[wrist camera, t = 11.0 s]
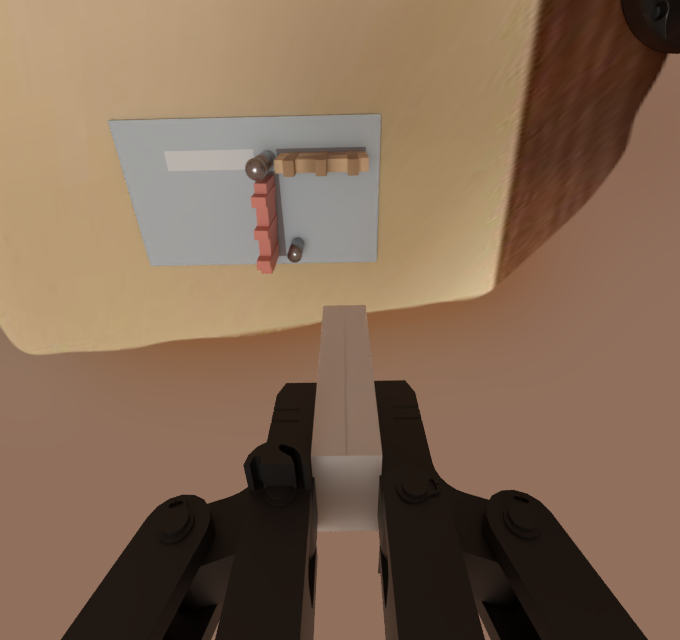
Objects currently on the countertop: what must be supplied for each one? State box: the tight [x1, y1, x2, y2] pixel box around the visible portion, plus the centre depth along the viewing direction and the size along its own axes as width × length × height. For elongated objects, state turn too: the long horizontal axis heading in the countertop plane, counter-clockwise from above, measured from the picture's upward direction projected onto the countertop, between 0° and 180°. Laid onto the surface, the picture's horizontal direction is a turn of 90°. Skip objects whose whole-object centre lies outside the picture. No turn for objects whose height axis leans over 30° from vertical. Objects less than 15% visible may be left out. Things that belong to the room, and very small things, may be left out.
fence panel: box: [251, 174, 279, 274], centre depth 41 cm, size 10×1×6 cm, turn 178°
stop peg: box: [287, 237, 305, 263], centre depth 44 cm, size 2×2×4 cm
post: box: [245, 150, 276, 181], centre depth 37 cm, size 2×2×8 cm
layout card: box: [108, 114, 381, 266], centre depth 43 cm, size 28×16×1 cm, turn 91°
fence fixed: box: [274, 150, 369, 177], centre depth 38 cm, size 9×1×6 cm, turn 91°
